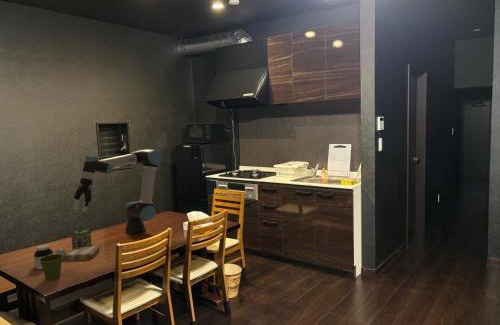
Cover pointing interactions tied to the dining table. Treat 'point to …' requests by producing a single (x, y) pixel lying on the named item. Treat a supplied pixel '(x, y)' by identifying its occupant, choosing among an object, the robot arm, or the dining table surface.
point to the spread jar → (41, 254)
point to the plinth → (82, 253)
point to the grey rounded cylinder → (61, 252)
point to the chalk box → (81, 238)
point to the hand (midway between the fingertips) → (79, 210)
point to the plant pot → (51, 265)
